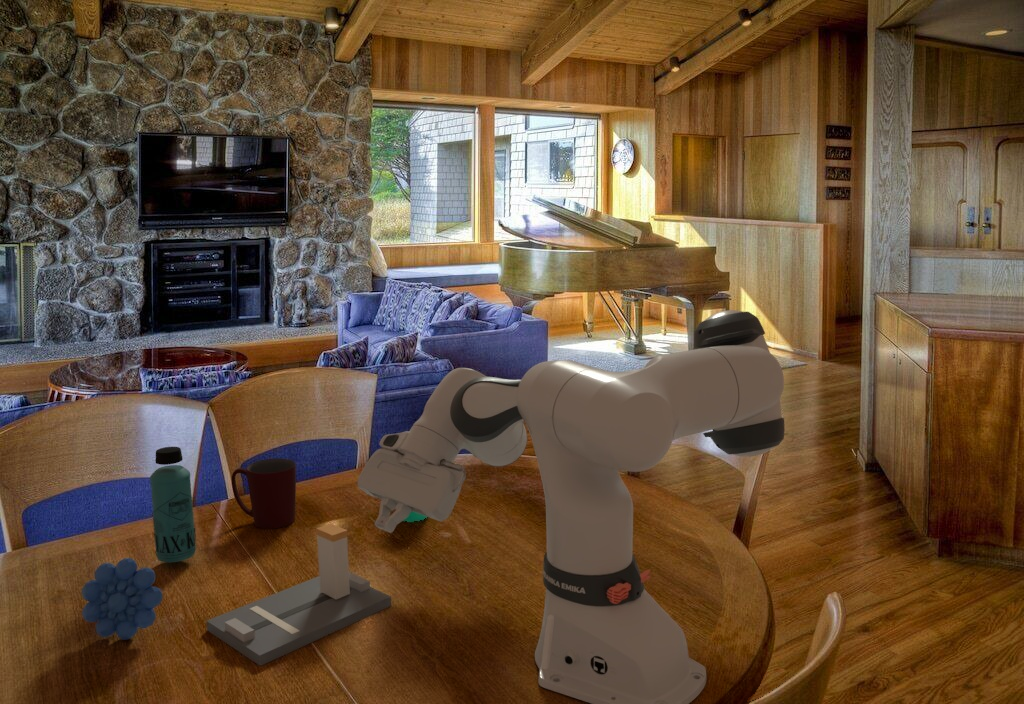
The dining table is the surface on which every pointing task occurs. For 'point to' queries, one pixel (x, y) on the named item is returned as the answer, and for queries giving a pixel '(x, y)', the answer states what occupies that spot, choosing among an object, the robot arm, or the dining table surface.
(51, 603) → the dining table surface
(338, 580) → the fader tab
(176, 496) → the beverage bottle
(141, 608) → the blue flower
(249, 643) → the board
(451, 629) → the dining table surface
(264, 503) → the mug
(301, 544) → the dining table surface
